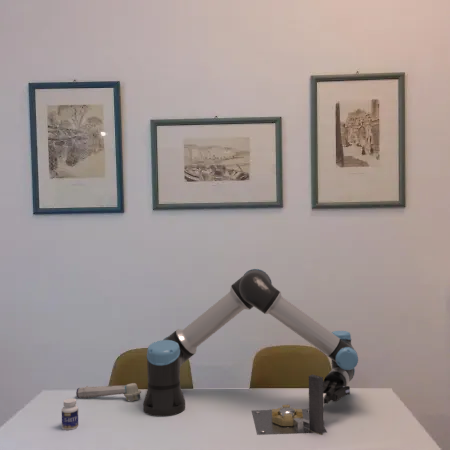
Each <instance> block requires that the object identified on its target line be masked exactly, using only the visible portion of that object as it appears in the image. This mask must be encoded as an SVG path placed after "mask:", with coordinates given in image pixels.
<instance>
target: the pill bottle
mask: <svg viewBox="0 0 450 450" xmlns="http://www.w3.org/2000/svg"><path fill="white" fill-rule="evenodd" d="M78 427H79V407H78V405H77V399H76V398H71V397H70V398H66V399H64V400H63V407H62V408H61V428H62V430H64V431H71V430H75V429H77V428H78Z"/></svg>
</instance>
